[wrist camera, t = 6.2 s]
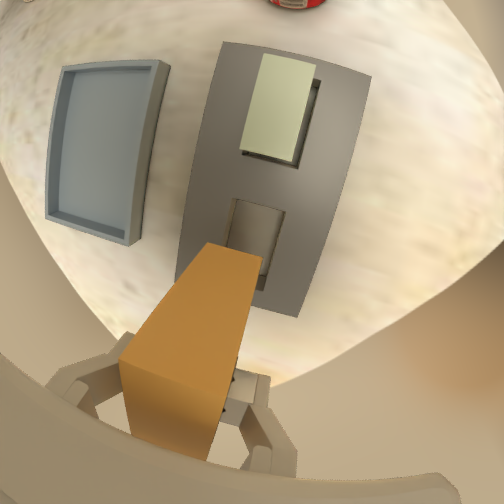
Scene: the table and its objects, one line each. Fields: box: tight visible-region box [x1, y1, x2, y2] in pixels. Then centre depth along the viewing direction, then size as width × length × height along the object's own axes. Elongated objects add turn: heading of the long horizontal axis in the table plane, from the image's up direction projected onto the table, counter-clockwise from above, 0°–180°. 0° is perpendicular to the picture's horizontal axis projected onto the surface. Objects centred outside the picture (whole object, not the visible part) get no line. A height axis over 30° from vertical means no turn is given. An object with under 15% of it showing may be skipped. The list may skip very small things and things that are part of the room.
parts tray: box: [45, 60, 171, 247], centre depth 24 cm, size 18×13×2 cm
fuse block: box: [174, 42, 372, 317], centre depth 23 cm, size 22×12×3 cm, turn 167°
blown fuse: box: [118, 242, 263, 461], centre depth 12 cm, size 6×3×9 cm, turn 167°
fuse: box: [239, 53, 316, 162], centre depth 18 cm, size 6×3×9 cm, turn 167°
